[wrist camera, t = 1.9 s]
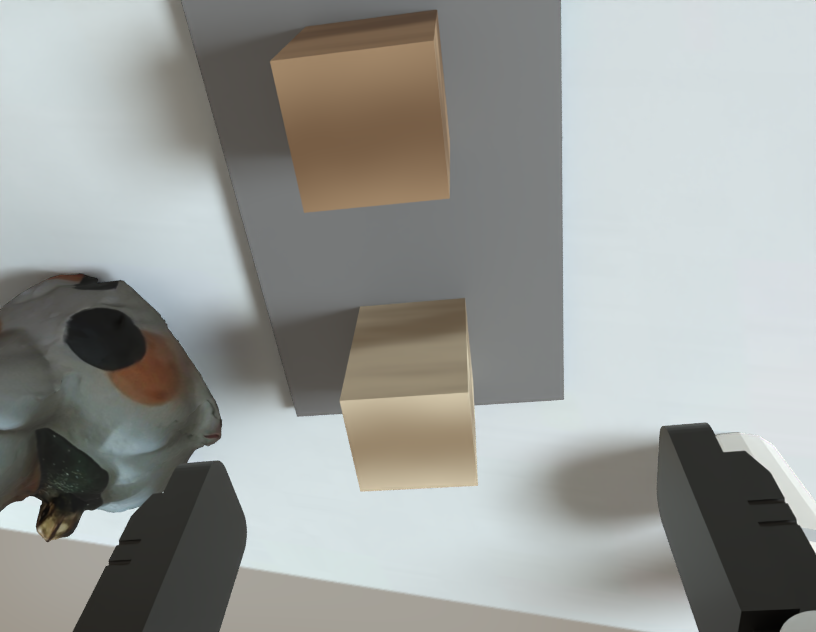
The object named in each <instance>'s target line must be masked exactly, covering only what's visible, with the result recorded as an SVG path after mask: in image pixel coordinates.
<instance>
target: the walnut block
mask: <svg viewBox="0 0 816 632" xmlns="http://www.w3.org/2000/svg"><path fill="white" fill-rule="evenodd" d="M270 64H271V68H272V73H273V77H274V82H275V86H276V90H277V95H278V99H279V104H280V108H281V113H282V117H283V121H284V126H285V130H286V135H287V139H288V144H289V148H290V153H291V157H292V161H293V166H294V170H295V175H296V179H297V184H298V188H299V192H300V197H301V201H302V206H303V210H304V213H308V212H318V211H328V210H338V209H348V208H358V207H368V206H379V205H389V204H399V203H409V202H419V201H429V200H440V199H450V136H449V126H448V115H447V105H446V95H445V84H444V74H443V64H442V53H441V43H440V32H439V22H438V12H437V10H429V11H422V12H414V13H406V14H399V15H391V16H383V17H376V18H368V19H360V20H353V21H345V22H337V23H330V24H322V25H314V26H307V27H305V28H304V29H303V30H302V31H301V32H300V33H299V34H298V35H297V36H295V37H294V38H293V39H292V40H291V41H290V42H289V43H288V44H287V45H286V46H285V47H284V48H283V49H282V50H281V51H280V52H279V53H278V54H277V55H276V56H275V57H274V58H273V59H272V60H271V61H270Z"/></svg>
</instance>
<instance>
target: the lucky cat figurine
mask: <svg viewBox="0 0 816 632" xmlns="http://www.w3.org/2000/svg"><path fill="white" fill-rule="evenodd" d="M97 280H98V279H97V278H93V277H88V276H86V275H84V274H77V275H58V276H55V277H51V278H49V279H47V280H44V281H42V282H41V283H39V284H37V285H35V286H33V287H31V288H29V289H27V290H26V291H24V292H23V293H21V294H20V295H18V296H17V297H15V298H14V299H13V300H11V301H10V302H9V303H7V304H6V305H5V306H4V307H3V308H2V309H1V310H0V512H1V511H2V510H3V509H4V508H5V507H6V506H7V505H9V504H11V503H13V502H16V501H22V500H24V499H25V498H26V497H28V496H34V497H36V498H38V499H40V500H42V505H41V506H40V511H39V515H38V518H37V523H36V529H37V532H38V533H39V534H40V535H41V536H42V537H43V538H44V539H45V540H46V542H49V541H51V540H54V539H58V538H62V537H68V536H69V535H71V534H72V533H73V532H74V530H75V529H76V527H77V525H78V523H79V520H80V518H81V516H82V514H83V512H84V511H85V510H95V509H100V510H104V511H107V512H113V513H115V512H123V511H126V510H128V509H133V508H136V507H140V506H141V505H142V504H143V503H144V502H145V501H146V500H147V499H148V498H149V497H150V496H151V495H152V494H155V493H162V492H164V490H165V488H166V486H167V484H168V482H169V480H170V478H171V475H172V473H173V471H174V470H175V468H176V467H177V466H178V465H179V464H182V463H187V462H188V460H189V458H190V456H191V455H192V454H193V452H194V451H195V450H196V449H198V448H200V447H203V446H204V445H206V446H210V445H212V444H214V443H215V442H216V441H218V440H219V439H220V438H221V427H222V419H221V417H220V414H219V409H218V406H217V404H216V401H215V399H214V398H213V396H212V395H211V393H210V391H209V390H208V388H207V386H206V384H205V382H204V381H203V379H202V377H201V374H200V373H199V372H198V370H197V369H196V367H195V366H194V364H193V363H192V361H191V360H190V358H189V357H188V355H187V354H186V352H185V351H184V349H183V347H182V346H181V345H180V343H179V341H178V340H176V338H175V337H174V336H173V335H172V333H171V331H170V330H169V329H168V327H167V324H166V323H165V320H163V318H161V315H160V314H159V313H158V312H157V311H156V310H155V309H154V308H153V307H152V306H151V305H150V304H149V303H147V302H146V301H145V300H144V299H143V298H142V297H141V296H140V295H139V294H138V293H137V292H136V291H135V290H134V289H133V288H132V287H130V286H129V285H127V284H126V283H125V282H124V281H121V280H120V281H112V282H104V283H97Z"/></svg>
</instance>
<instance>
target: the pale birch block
mask: <svg viewBox="0 0 816 632" xmlns="http://www.w3.org/2000/svg"><path fill="white" fill-rule="evenodd" d="M340 405H341V409H342V414H343V418H344V422H345V427H346V431H347V435H348V439H349V444H350V448H351V452H352V457H353V461H354V465H355V470H356V474H357V478H358V482H359V487H360V491H381V490H401V489H421V488H441V487H461V486H478V479H477V456H476V433H475V411H474V388H473V375H472V364H471V354H470V343H469V333H468V323H467V312H466V302H465V298H459V299H447V300H435V301H422V302H410V303H398V304H386V305H373V306H361V307H360V309H359V314H358V318H357V323H356V327H355V332H354V337H353V341H352V346H351V350H350V355H349V360H348V364H347V369H346V373H345V378H344V383H343V387H342V392H341V396H340Z"/></svg>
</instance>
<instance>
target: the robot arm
mask: <svg viewBox="0 0 816 632" xmlns="http://www.w3.org/2000/svg"><path fill="white" fill-rule="evenodd" d="M657 499H658V507H659V512H660V517H661V521H662V524H663V527H664V530H665V533H666V536H667V539H668V542H669V545H670V548H671V551H672V554H673V557H674V560H675V562H676V565H677V568H678V571H679V574H680V577H681V580H682V583H683V586H684V589H685V592H686V595H687V598H688V601H689V604H690V607H691V610H692V613H693V615H694V618H695V621H696V624H697V627H698V630H699V632H816V553H815V551H814V550H813V548H812V546H811V544H810V542H809V541H808V539H807V537H806V535H805V533H804V532H803V530H802V528H801V526H800V525H798V524H797V519H796V517H795V515H794V514H793V512H792V510H791V508H790V506H789V505H788V503H786V502H785V497H784V496H783V494H782V492H781V490H780V488H779V487H778V485H777V483H776V481H775V480H774V478H773V476H772V474H771V472H770V471H769V470H767V469H766V468H765V467H764V466H763V465H761V464H760V463H759V462H758V461H757V460H755V459H754V458H753V457H752V456H751V455H750V454H748V453H747V452H746V451H732V452H723V450H722V448H721V446H720V444H719V442H718V440H717V438H716V436H715V434H714V432H713V430H712V428H711V427H710V425H709V424H708V423H694V424H682V425H670V426H662V427H661V429H660V437H659V456H658V474H657ZM246 538H247V527H246V520H245V516H244V513H243V510H242V508H241V505H240V503H239V500H238V498H237V495H236V493H235V491H234V488H233V486H232V483H231V481H230V478H229V476H228V473H227V471H226V468H225V466H224V465H223V463H222V462H220V461H206V462H194V463H182V464H179V465H178V466H177V467H176V468H175V470H174V471H173V473H172V475H171V478H170V480H169V482H168V484H167V486H166V488H165V490H164V492H163V493H155V494H152V495H151V496H150V497H149V498H148V499H147V500H146V501H145V502H144V503H143V504H142V505H141V506H140V507H139V509H138V510H137V511H136V512H135V513H134V514H133V515H132V516H131V518H130V520H129V522H128V524H127V526H126V528H125V530H124V532H123V534H122V535H121V537H120V539H119V545H117V546H116V547H115V549H114V551H113V553H112V555H111V557H110V559H109V565H108V566H106V567H105V569H104V571H103V573H102V575H101V577H100V579H99V581H98V583H97V585H96V587H95V589H94V591H93V593H92V595H91V597H90V599H89V601H88V602H87V604H86V607H85V609H84V610H83V613H82V614H81V616H80V618H79V620H78V622H77V624H76V626H75V628H74V630H73V632H219V631H220V628H221V624H222V621H223V618H224V615H225V611H226V608H227V605H228V601H229V598H230V595H231V592H232V589H233V586H234V582H235V579H236V576H237V572H238V569H239V566H240V563H241V560H242V556H243V553H244V550H245V546H246Z"/></svg>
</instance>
